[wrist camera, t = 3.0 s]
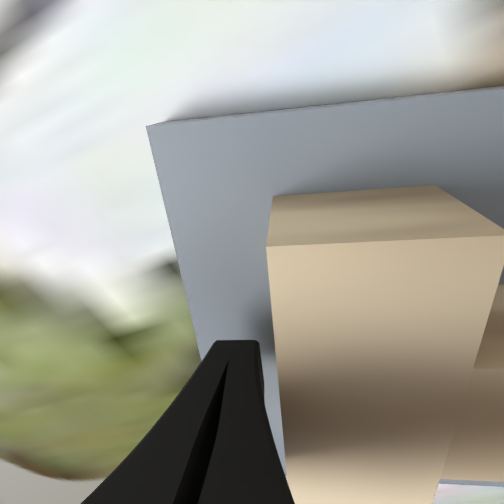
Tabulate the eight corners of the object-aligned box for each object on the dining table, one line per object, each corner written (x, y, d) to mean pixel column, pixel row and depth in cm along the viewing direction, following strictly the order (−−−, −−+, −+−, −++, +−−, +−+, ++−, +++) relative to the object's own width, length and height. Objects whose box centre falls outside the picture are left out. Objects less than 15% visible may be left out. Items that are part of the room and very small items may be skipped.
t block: (598, 444, 11) (695, 554, 9) (290, 434, 13) (291, 525, 10) (781, 161, 7) (1100, 207, 4) (272, 196, 8) (266, 246, 6)
